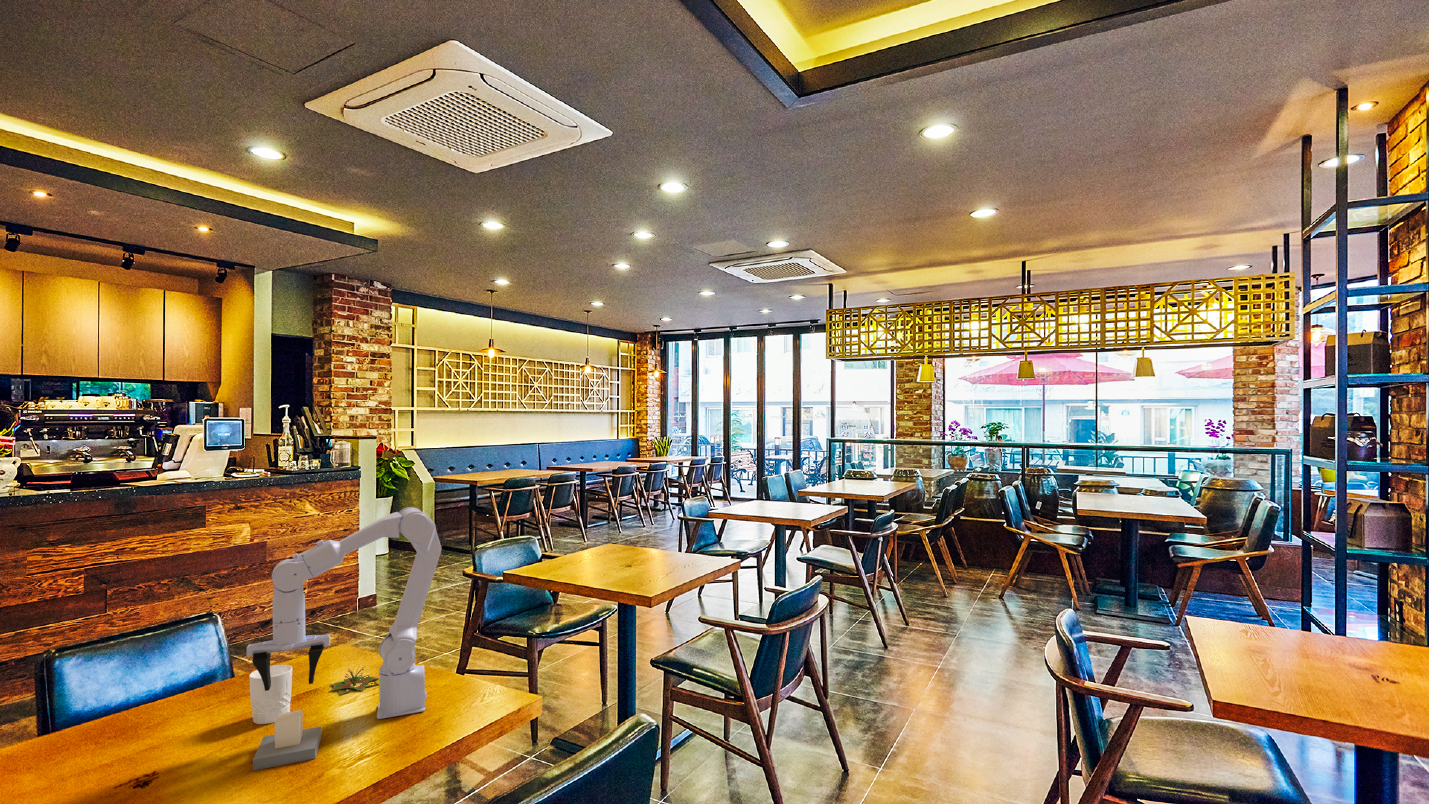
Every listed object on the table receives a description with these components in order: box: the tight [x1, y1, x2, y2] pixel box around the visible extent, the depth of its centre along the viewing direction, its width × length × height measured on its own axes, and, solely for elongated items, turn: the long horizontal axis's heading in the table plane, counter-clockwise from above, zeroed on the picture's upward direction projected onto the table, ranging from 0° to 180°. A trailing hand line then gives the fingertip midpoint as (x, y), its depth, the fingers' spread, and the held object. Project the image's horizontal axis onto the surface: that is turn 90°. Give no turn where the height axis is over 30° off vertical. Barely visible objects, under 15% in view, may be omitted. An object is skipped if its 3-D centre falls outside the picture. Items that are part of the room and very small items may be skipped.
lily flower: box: [327, 665, 379, 696], centre depth 167 cm, size 12×12×5 cm
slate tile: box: [252, 726, 323, 771], centre depth 133 cm, size 10×10×2 cm
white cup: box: [248, 664, 293, 725], centre depth 149 cm, size 8×8×10 cm
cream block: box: [274, 709, 303, 748], centre depth 134 cm, size 4×4×5 cm
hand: (289, 685), depth 141 cm, fingers open, 7 cm apart
